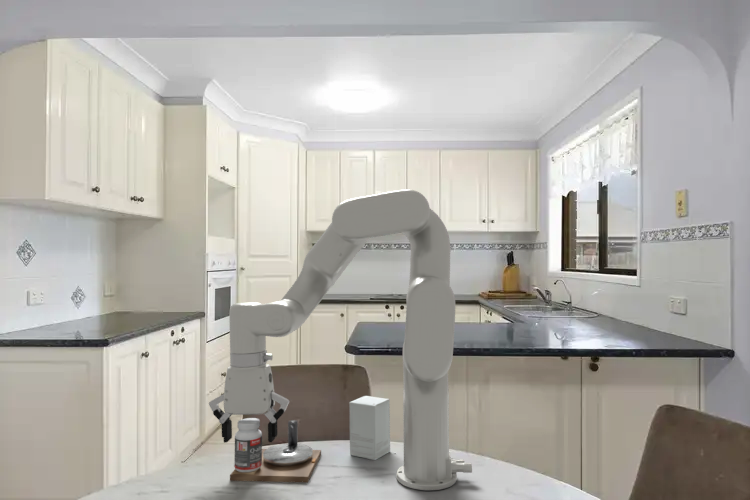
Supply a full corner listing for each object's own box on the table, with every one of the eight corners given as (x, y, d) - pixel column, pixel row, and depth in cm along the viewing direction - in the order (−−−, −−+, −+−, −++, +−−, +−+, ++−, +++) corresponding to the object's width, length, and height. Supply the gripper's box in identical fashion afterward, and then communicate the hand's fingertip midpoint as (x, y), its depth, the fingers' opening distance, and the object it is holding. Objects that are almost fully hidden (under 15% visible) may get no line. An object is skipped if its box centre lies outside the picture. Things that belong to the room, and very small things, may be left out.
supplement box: (391, 451, 122) (390, 398, 122) (374, 461, 116) (374, 405, 116) (365, 445, 126) (365, 394, 126) (348, 455, 119) (348, 401, 120)
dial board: (321, 455, 119) (321, 448, 120) (307, 482, 104) (307, 474, 104) (253, 453, 121) (253, 446, 121) (229, 480, 105) (229, 472, 105)
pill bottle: (254, 474, 104) (254, 425, 105) (229, 472, 106) (229, 424, 106) (266, 463, 110) (266, 417, 110) (242, 461, 111) (242, 416, 112)
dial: (316, 447, 119) (316, 420, 120) (307, 466, 108) (307, 435, 108) (271, 446, 120) (271, 419, 120) (256, 465, 109) (257, 435, 109)
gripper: (291, 356, 112) (293, 434, 111) (215, 357, 113) (217, 434, 112) (283, 362, 104) (285, 446, 104) (202, 363, 106) (203, 446, 105)
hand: (249, 440), depth 108 cm, fingers open, 9 cm apart
